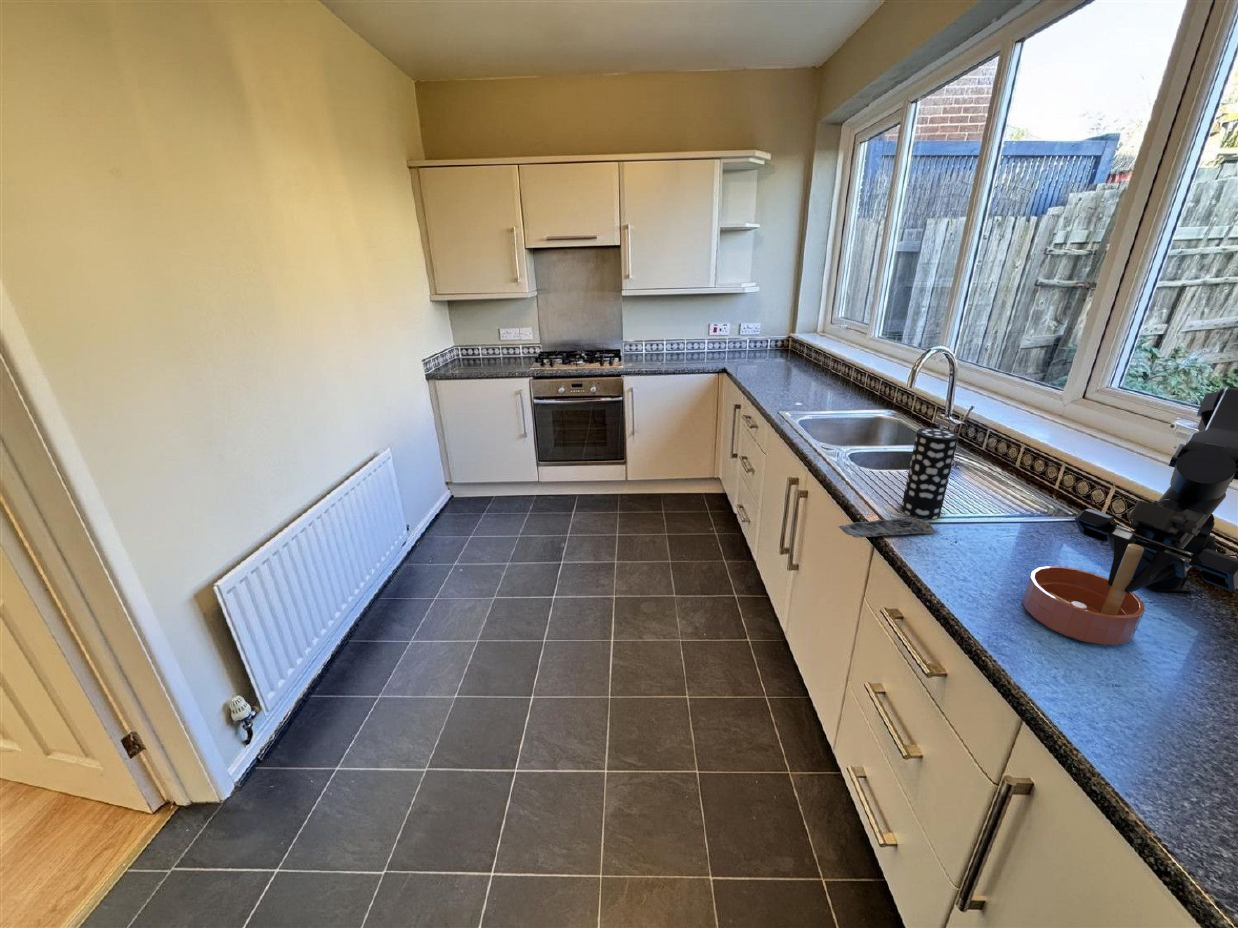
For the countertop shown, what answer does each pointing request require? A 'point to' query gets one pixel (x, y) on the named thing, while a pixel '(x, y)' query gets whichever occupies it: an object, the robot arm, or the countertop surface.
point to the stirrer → (1117, 581)
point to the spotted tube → (929, 472)
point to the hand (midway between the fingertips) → (1117, 588)
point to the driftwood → (887, 527)
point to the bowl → (1076, 619)
